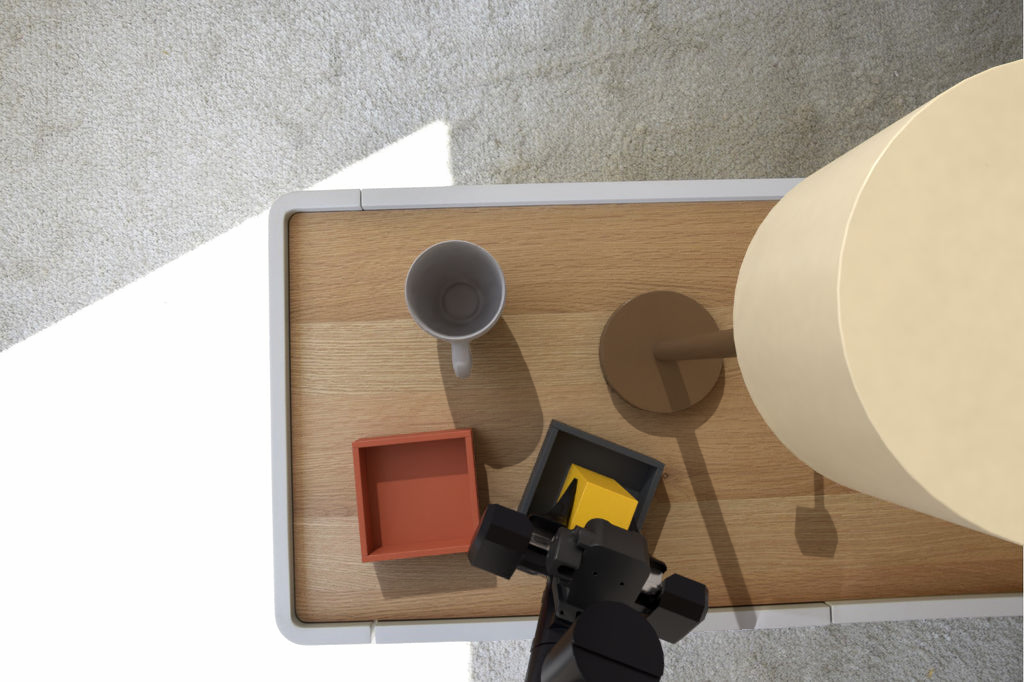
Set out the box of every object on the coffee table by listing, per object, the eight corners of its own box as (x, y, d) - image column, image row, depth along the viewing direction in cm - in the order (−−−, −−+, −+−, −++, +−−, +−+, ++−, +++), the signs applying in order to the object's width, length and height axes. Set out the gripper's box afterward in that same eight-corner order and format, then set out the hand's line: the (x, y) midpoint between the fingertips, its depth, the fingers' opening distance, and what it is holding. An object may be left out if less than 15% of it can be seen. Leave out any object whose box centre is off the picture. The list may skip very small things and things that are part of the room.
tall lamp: (715, 432, 66) (1303, 596, 18) (578, 408, 66) (802, 509, 18) (736, 296, 67) (1359, 101, 19) (601, 272, 66) (877, 11, 18)
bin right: (616, 565, 65) (623, 576, 61) (511, 524, 65) (512, 533, 61) (656, 459, 66) (665, 464, 62) (552, 418, 65) (555, 421, 62)
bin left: (482, 540, 65) (482, 550, 61) (369, 552, 64) (361, 563, 61) (472, 427, 65) (470, 430, 62) (359, 438, 65) (351, 442, 61)
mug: (414, 261, 66) (400, 242, 56) (501, 255, 66) (503, 235, 56) (422, 380, 65) (409, 382, 56) (510, 374, 66) (513, 374, 56)
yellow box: (598, 522, 64) (619, 553, 54) (555, 506, 64) (567, 533, 53) (614, 479, 65) (638, 501, 54) (571, 463, 65) (587, 481, 54)
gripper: (747, 670, 42) (742, 478, 53) (475, 563, 42) (529, 395, 53) (671, 722, 49) (681, 545, 61) (439, 632, 49) (494, 471, 61)
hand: (599, 490), depth 59 cm, fingers closed on yellow box, 4 cm apart
